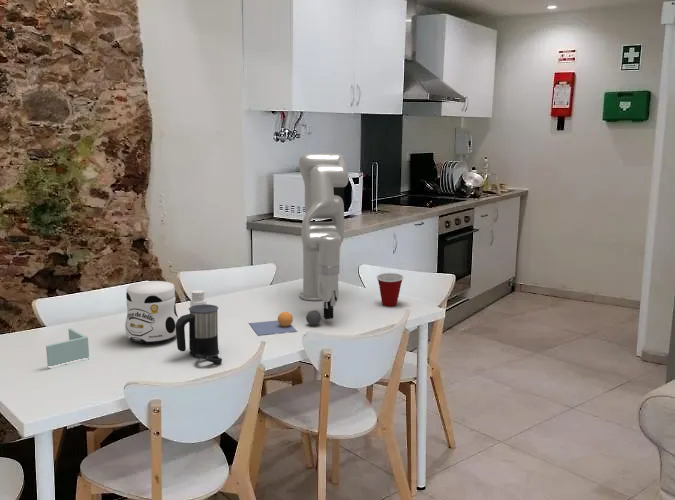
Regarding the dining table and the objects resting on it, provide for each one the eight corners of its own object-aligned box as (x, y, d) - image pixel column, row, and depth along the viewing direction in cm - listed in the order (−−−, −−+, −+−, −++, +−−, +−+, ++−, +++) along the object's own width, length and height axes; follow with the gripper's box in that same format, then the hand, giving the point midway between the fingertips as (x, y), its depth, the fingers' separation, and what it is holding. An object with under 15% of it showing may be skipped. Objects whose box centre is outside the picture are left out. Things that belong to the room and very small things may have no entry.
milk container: (124, 349, 207) (121, 294, 204) (126, 332, 223) (124, 281, 220) (180, 345, 212) (178, 291, 208) (178, 328, 228) (176, 279, 224)
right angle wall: (72, 350, 207) (71, 328, 205) (89, 360, 198) (87, 337, 197) (33, 359, 198) (31, 336, 197) (49, 370, 190) (47, 346, 188)
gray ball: (317, 306, 236) (315, 319, 238) (304, 309, 233) (302, 321, 235) (324, 313, 232) (323, 326, 234) (311, 316, 229) (310, 329, 232)
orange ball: (292, 319, 236) (279, 326, 234) (286, 307, 234) (273, 314, 233) (297, 324, 231) (283, 331, 230) (291, 311, 229) (277, 318, 228)
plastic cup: (371, 306, 259) (371, 277, 257) (382, 299, 269) (383, 271, 266) (396, 310, 254) (397, 280, 252) (406, 303, 264) (407, 274, 261)
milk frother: (204, 346, 211) (202, 302, 208) (241, 355, 203) (241, 310, 200) (171, 359, 199) (170, 312, 196) (210, 370, 191) (209, 321, 188)
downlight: (205, 321, 237) (205, 294, 236) (186, 320, 237) (185, 293, 236) (210, 315, 245) (209, 289, 243) (191, 315, 245) (191, 289, 244)
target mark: (248, 323, 235) (248, 323, 235) (286, 320, 240) (286, 319, 240) (258, 335, 222) (258, 335, 222) (297, 331, 227) (297, 331, 227)
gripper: (312, 265, 240) (312, 313, 243) (326, 274, 226) (325, 325, 230) (331, 264, 242) (331, 311, 246) (346, 273, 229) (345, 323, 232)
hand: (328, 318), depth 238 cm, fingers closed
